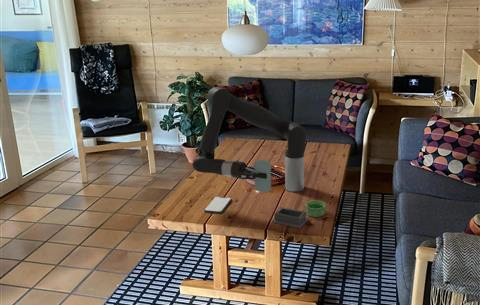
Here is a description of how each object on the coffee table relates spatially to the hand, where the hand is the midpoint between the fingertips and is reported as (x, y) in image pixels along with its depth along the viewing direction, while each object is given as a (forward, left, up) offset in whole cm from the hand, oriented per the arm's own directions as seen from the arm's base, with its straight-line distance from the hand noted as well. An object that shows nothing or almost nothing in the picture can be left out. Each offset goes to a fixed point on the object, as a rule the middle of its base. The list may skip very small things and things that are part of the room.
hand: (268, 174), depth 223 cm
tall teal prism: (0, -3, -7) cm, 8 cm away
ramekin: (-12, +17, -20) cm, 29 cm away
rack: (0, +10, -20) cm, 22 cm away
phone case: (-1, -27, -21) cm, 34 cm away
